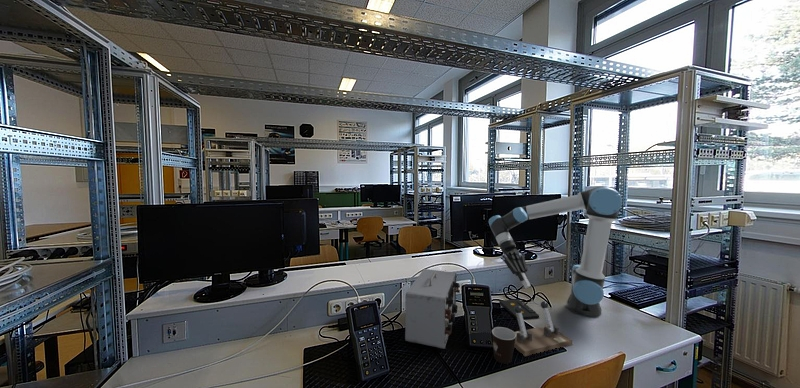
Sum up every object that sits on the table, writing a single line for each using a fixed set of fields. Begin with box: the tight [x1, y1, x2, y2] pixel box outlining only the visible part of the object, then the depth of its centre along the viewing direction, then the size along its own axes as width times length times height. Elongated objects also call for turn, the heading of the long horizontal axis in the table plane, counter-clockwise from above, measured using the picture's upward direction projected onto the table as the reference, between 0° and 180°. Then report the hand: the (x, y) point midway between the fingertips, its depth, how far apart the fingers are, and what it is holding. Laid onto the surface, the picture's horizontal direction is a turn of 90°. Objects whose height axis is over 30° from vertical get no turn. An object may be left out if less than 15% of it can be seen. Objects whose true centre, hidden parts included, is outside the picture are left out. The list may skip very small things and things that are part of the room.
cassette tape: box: [498, 298, 540, 321], centre depth 146 cm, size 18×12×2 cm, turn 9°
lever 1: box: [514, 306, 528, 339], centre depth 118 cm, size 3×3×12 cm
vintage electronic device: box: [404, 268, 461, 350], centre depth 128 cm, size 32×18×25 cm, turn 161°
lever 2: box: [540, 301, 555, 333], centre depth 123 cm, size 3×3×12 cm
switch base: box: [513, 324, 573, 357], centre depth 119 cm, size 24×12×5 cm, turn 108°
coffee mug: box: [490, 326, 516, 365], centre depth 110 cm, size 12×9×10 cm
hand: (527, 287), depth 132 cm, fingers closed
